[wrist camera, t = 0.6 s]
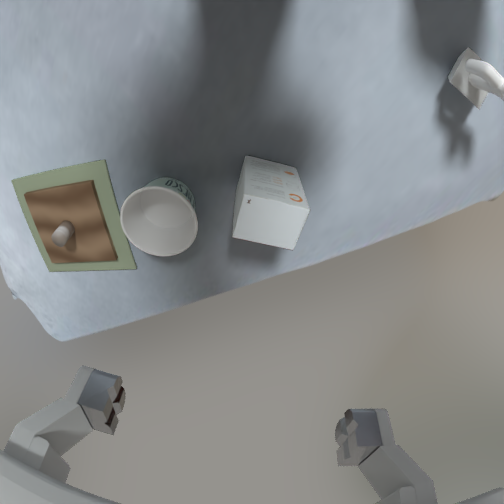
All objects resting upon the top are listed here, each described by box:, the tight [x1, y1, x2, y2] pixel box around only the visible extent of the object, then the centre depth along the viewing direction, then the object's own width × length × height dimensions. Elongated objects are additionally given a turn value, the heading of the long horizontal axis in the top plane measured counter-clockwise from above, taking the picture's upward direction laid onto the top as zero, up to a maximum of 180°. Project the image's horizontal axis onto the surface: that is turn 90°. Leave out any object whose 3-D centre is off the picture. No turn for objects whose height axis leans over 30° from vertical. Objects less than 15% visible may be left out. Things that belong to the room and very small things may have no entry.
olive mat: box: [12, 160, 137, 272], centre depth 52 cm, size 22×22×1 cm
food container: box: [120, 177, 198, 256], centre depth 48 cm, size 12×12×6 cm
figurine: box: [448, 47, 504, 109], centre depth 29 cm, size 7×9×15 cm
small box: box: [232, 155, 310, 250], centre depth 43 cm, size 8×6×13 cm
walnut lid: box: [24, 180, 118, 263], centre depth 50 cm, size 16×16×5 cm
